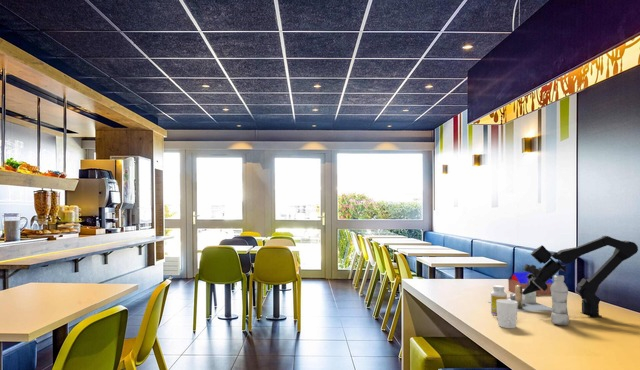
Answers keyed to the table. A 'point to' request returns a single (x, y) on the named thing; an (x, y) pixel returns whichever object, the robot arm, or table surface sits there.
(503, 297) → the supplement bottle
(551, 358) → the table surface
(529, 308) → the stand
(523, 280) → the house
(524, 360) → the table surface
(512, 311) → the white cup
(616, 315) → the table surface
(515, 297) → the crank handle
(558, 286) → the plastic bottle
